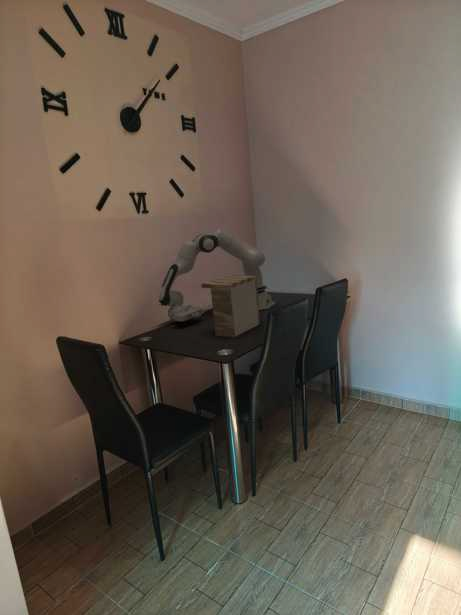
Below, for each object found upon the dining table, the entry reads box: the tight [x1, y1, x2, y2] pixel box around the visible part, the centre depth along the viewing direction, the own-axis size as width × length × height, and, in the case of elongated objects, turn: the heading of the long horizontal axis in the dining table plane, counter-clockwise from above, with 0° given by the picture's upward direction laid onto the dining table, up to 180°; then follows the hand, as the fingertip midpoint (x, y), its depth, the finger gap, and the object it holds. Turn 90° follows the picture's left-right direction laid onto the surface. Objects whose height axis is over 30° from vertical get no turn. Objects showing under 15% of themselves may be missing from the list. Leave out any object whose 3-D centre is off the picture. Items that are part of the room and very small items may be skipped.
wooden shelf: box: [200, 274, 261, 338], centre depth 224 cm, size 26×18×28 cm
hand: (199, 315), depth 241 cm, fingers closed
